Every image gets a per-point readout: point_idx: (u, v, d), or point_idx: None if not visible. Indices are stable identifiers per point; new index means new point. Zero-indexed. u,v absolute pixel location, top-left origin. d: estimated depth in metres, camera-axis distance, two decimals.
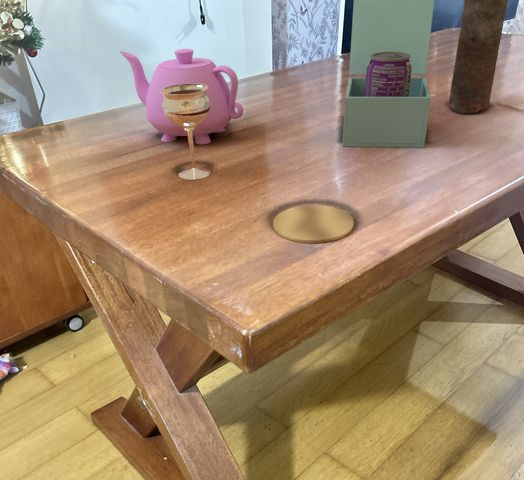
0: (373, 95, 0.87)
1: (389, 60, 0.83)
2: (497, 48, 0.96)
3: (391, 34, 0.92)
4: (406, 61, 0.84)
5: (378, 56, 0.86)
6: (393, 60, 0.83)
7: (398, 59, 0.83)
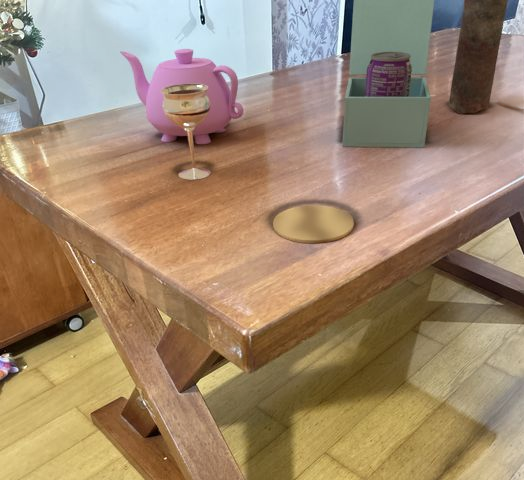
0: (373, 95, 0.87)
1: (389, 60, 0.83)
2: (497, 48, 0.96)
3: (391, 34, 0.92)
4: (406, 61, 0.84)
5: (378, 56, 0.86)
6: (393, 60, 0.83)
7: (398, 59, 0.83)
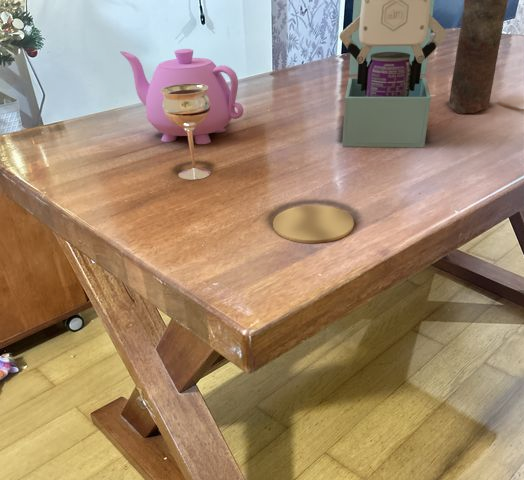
0: (373, 95, 0.87)
1: (389, 60, 0.83)
2: (497, 48, 0.96)
3: None
4: (406, 61, 0.84)
5: (378, 56, 0.86)
6: (393, 60, 0.83)
7: (398, 59, 0.83)
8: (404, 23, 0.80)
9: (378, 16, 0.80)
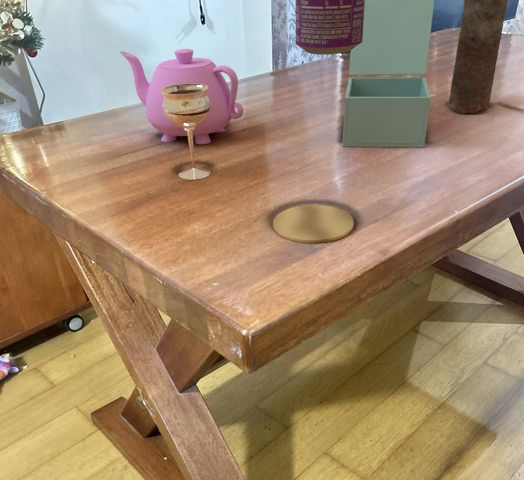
0: None
1: None
2: (497, 48, 0.96)
3: (391, 34, 0.92)
4: None
5: None
6: None
7: None
8: None
9: None
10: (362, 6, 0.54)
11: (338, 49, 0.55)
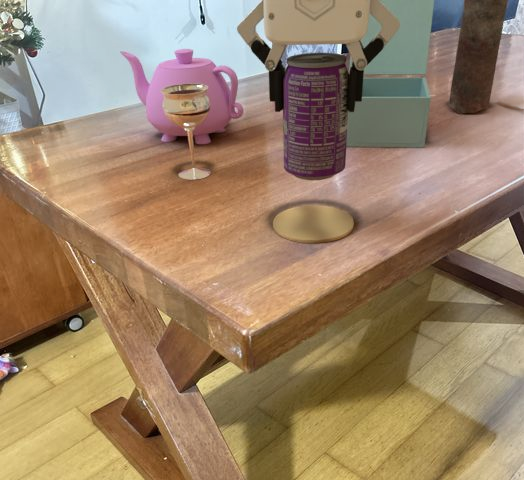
0: (292, 118, 0.57)
1: (311, 66, 0.53)
2: (497, 48, 0.96)
3: None
4: (339, 67, 0.54)
5: (299, 59, 0.57)
6: (317, 66, 0.53)
7: (325, 64, 0.53)
8: (330, 7, 0.50)
9: None
10: (344, 140, 0.59)
11: (322, 177, 0.60)
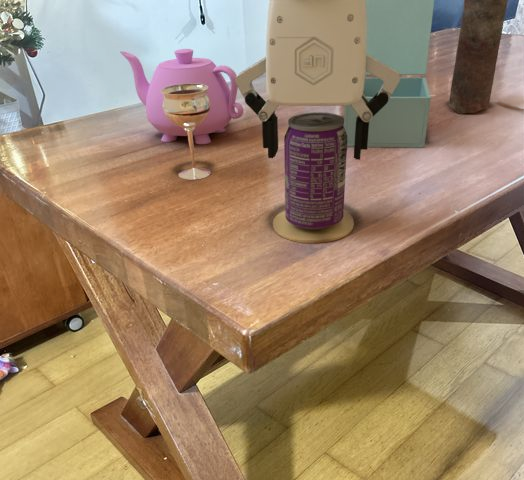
0: (293, 175, 0.61)
1: (311, 129, 0.57)
2: (497, 48, 0.96)
3: (391, 34, 0.92)
4: (337, 130, 0.58)
5: (300, 120, 0.61)
6: (317, 129, 0.57)
7: (324, 128, 0.57)
8: (328, 73, 0.54)
9: (290, 64, 0.54)
10: (342, 193, 0.63)
11: (322, 227, 0.64)
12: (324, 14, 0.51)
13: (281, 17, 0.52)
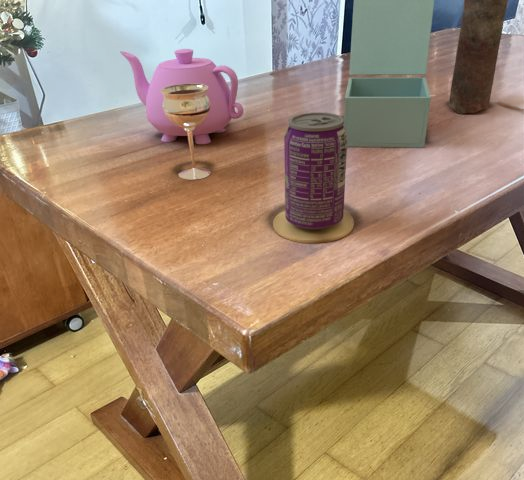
0: (293, 175, 0.61)
1: (311, 129, 0.57)
2: (497, 48, 0.96)
3: (391, 34, 0.92)
4: (337, 130, 0.58)
5: (300, 120, 0.61)
6: (317, 129, 0.57)
7: (324, 128, 0.57)
8: None
9: None
10: (342, 193, 0.63)
11: (322, 227, 0.64)
12: None
13: None
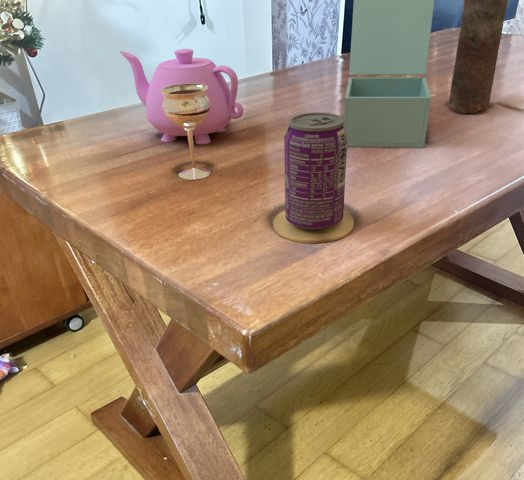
0: (293, 175, 0.61)
1: (311, 129, 0.57)
2: (497, 48, 0.96)
3: (391, 34, 0.92)
4: (337, 130, 0.58)
5: (300, 120, 0.61)
6: (317, 129, 0.57)
7: (324, 128, 0.57)
8: None
9: None
10: (342, 193, 0.63)
11: (322, 227, 0.64)
12: None
13: None
